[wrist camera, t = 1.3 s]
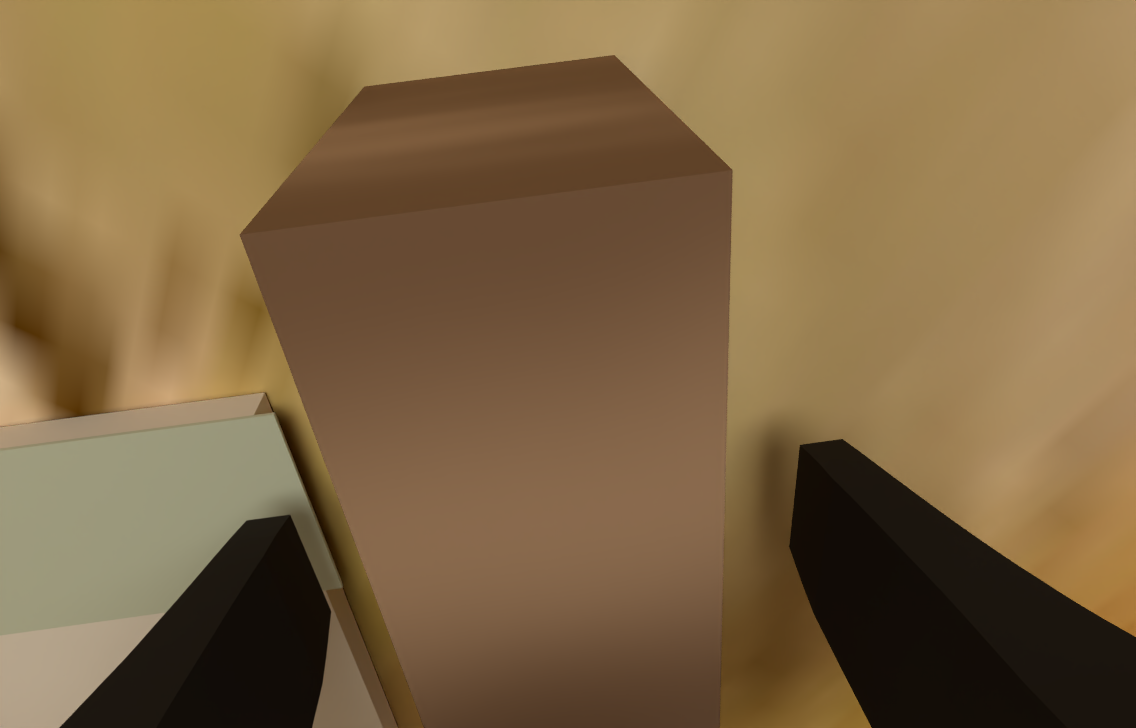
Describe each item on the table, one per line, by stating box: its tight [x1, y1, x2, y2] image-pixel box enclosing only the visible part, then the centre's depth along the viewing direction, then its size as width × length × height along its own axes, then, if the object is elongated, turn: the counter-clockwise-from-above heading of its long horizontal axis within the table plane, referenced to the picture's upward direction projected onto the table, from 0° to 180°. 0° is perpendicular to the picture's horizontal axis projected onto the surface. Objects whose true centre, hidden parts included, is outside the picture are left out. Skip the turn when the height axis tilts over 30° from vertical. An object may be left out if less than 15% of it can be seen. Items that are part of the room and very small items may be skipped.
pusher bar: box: [240, 55, 732, 728], centre depth 10 cm, size 12×3×5 cm, turn 6°
